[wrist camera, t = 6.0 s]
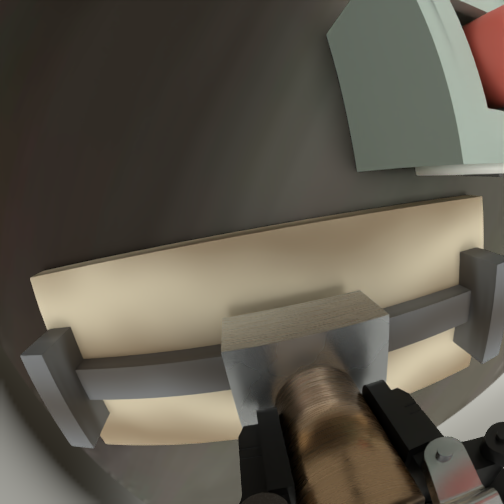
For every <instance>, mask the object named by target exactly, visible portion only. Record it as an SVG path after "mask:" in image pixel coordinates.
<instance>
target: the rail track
mask: <svg viewBox="0 0 504 504" xmlns="http://www.w3.org/2000/svg"><path fill="white" fill-rule="evenodd" d="M30 280H31V283H32V287H33V290H34V293H35V296H36V299H37V303H38V305H39V308H40V311H41V314H42V317H43V320H44V322H45V325H46V328H47V330H48V331H46V332H45V333H44V334H43V335H42V336H41V337H40V338H39V339H38V340H36V341H35V342H34V343H33V344H32V345H31V346H30V347H29V348H28V349H27V350H26V351H24V352H23V353H22V354H21V355H20V357H21V359H22V361H23V363H24V365H25V367H26V369H27V371H28V373H29V375H30V377H31V379H32V381H33V383H34V385H35V387H36V389H37V391H38V393H39V394H40V396H41V398H42V400H43V402H44V403H45V405H46V407H47V408H48V410H49V412H50V413H51V415H52V417H53V418H54V420H55V422H56V423H57V425H58V426H59V428H60V429H61V431H62V432H63V434H64V435H65V437H66V438H67V440H68V441H69V443H70V444H71V445H72V446H78V447H87V448H94V447H95V445H96V443H97V440H98V438H99V436H101V437H102V439H103V440H104V442H105V443H106V444H116V445H176V444H193V443H206V442H216V441H225V440H233V439H238V437H239V435H240V433H241V431H242V426H241V423H240V419H239V416H238V413H237V409H236V406H235V402H234V399H233V395H232V391H231V388H230V384H229V380H228V377H227V373H226V369H225V366H224V362H223V358H222V354H221V340H222V318H226V317H232V316H238V315H243V314H249V313H254V312H260V311H265V310H270V309H275V308H280V307H285V306H290V305H295V304H300V303H305V302H309V301H314V300H318V299H323V298H327V297H332V296H336V295H341V294H345V293H349V292H353V291H358V290H360V291H361V292H363V293H364V294H365V295H366V296H367V297H369V298H370V299H371V300H372V301H374V302H375V303H376V304H377V305H378V306H380V307H381V308H382V309H383V310H385V311H386V312H387V313H388V314H389V347H388V365H387V379H386V383H387V385H388V386H389V387H390V389H391V390H393V389H395V388H399V389H401V390H403V391H405V392H407V393H409V394H410V393H412V392H414V391H417V390H419V389H422V388H424V387H426V386H428V385H431V384H433V383H435V382H437V381H440V380H442V379H444V378H446V377H448V376H450V375H452V374H454V373H456V372H458V371H460V370H462V369H464V368H466V367H468V366H469V364H470V359H471V356H472V357H474V358H475V359H476V360H478V361H479V362H480V363H481V364H483V363H485V362H487V361H488V360H490V359H492V358H493V357H495V356H497V355H498V354H499V350H500V346H501V341H502V337H503V332H504V256H503V255H500V254H497V253H494V252H491V251H487V250H484V249H483V204H482V196H472V195H462V196H455V197H448V198H441V199H434V200H427V201H420V202H413V203H406V204H399V205H393V206H386V207H380V208H373V209H367V210H360V211H354V212H348V213H342V214H336V215H329V216H323V217H317V218H311V219H305V220H300V221H294V222H288V223H282V224H276V225H271V226H265V227H260V228H254V229H248V230H243V231H237V232H232V233H226V234H221V235H216V236H210V237H205V238H200V239H195V240H189V241H184V242H179V243H174V244H169V245H164V246H159V247H154V248H149V249H144V250H139V251H134V252H129V253H124V254H119V255H114V256H109V257H105V258H100V259H95V260H91V261H86V262H81V263H77V264H72V265H67V266H63V267H58V268H54V269H49V270H45V271H42V272H40V273H38V274H36V275H34V276H33V277H31V278H30Z"/></svg>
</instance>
